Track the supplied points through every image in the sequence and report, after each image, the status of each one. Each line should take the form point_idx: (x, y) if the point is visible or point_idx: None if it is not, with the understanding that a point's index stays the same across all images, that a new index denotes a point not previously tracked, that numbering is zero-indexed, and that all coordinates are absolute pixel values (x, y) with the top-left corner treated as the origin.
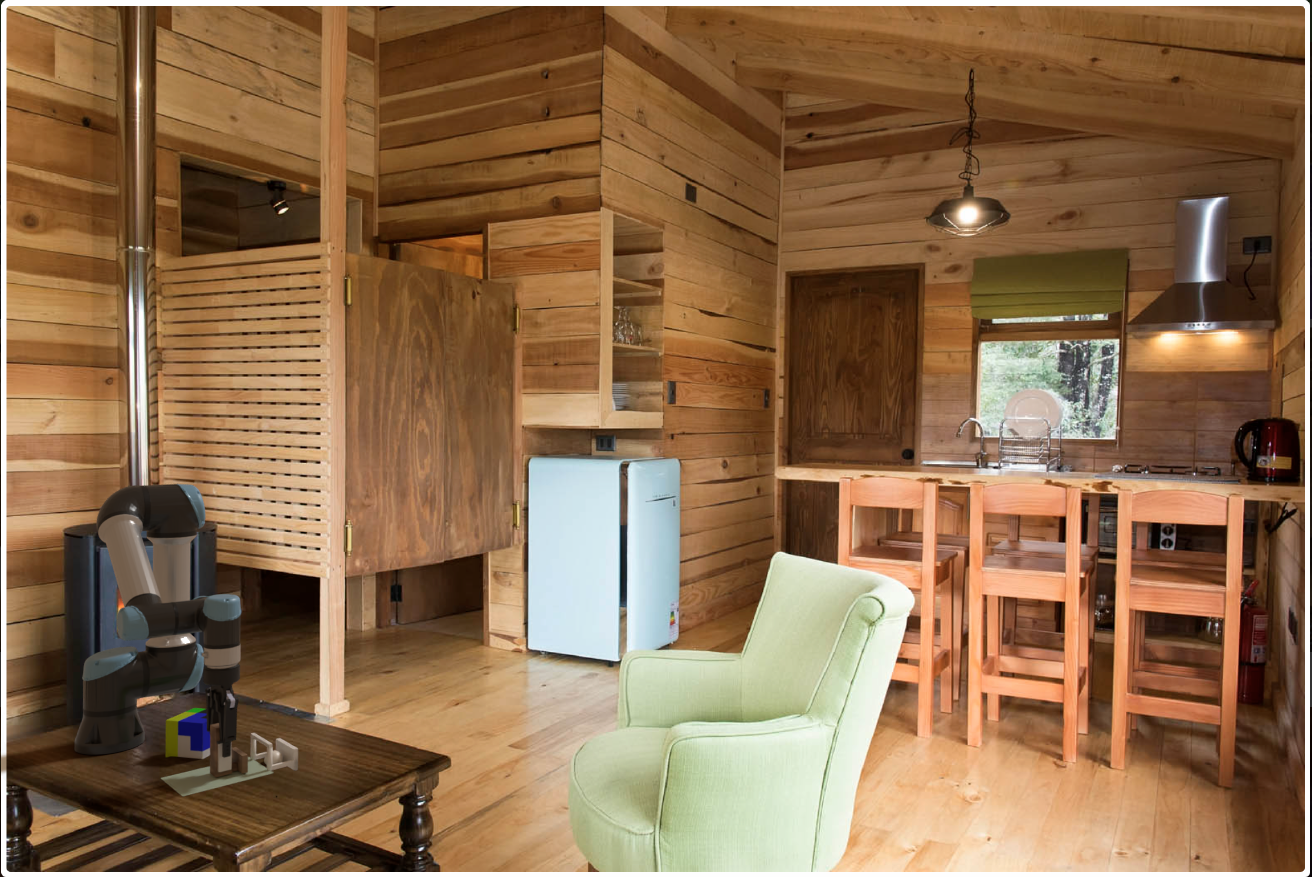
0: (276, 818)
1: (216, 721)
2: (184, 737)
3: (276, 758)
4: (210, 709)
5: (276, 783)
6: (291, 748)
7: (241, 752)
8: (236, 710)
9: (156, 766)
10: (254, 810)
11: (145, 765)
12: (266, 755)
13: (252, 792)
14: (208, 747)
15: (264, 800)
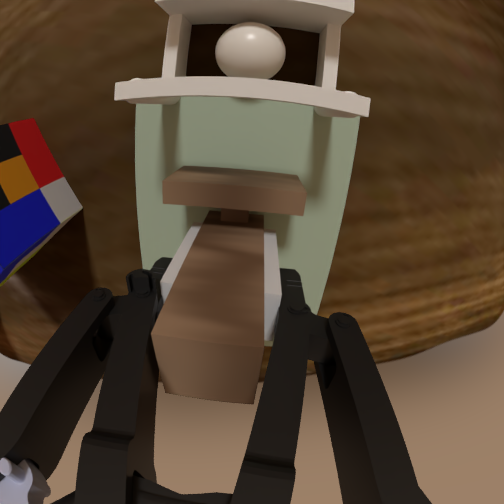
0: (501, 252)
1: (152, 380)
2: (14, 268)
3: (284, 53)
4: (73, 415)
5: (384, 129)
6: (329, 7)
7: (253, 196)
8: (410, 473)
9: (50, 277)
10: (458, 261)
11: (40, 287)
12: (241, 71)
13: (386, 210)
14: (44, 202)
15: (444, 220)
